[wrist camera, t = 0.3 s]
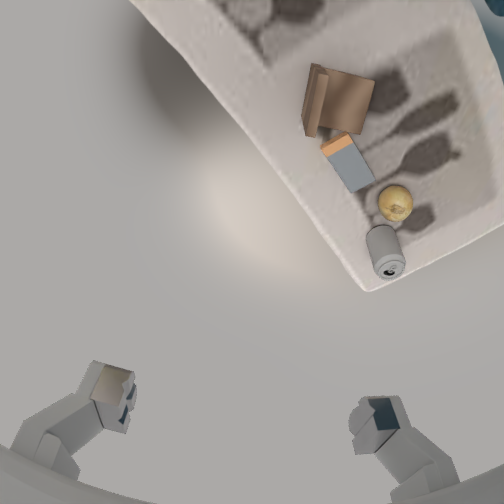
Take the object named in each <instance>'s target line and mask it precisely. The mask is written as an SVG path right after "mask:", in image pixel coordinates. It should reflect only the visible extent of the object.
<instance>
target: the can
mask: <svg viewBox="0 0 504 504" xmlns="http://www.w3.org/2000/svg"><path fill="white" fill-rule="evenodd" d="M366 242H367V245H368V249H369V253H370V256H371V260H372V264H373V268H374V271H375V273H376V274H377V275H378V276H379V278H381V279H382V280H388V281H390V280H394V279H396V278H398V277H400V276H401V275H402V274H403V272H404V270H405V265H406V261H405V258H404V255H403V252H402V250H401V247H400V244H399V242H398V239H397V236H396V234H395V231H394V230H393V229H392V228H391V227H389V226H377V227H375V228H373V229H372V230H371V231H370V232H369V233H368V235H367V237H366Z"/></svg>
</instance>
